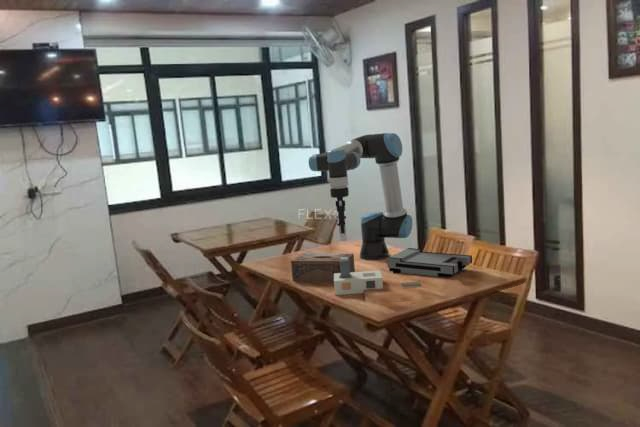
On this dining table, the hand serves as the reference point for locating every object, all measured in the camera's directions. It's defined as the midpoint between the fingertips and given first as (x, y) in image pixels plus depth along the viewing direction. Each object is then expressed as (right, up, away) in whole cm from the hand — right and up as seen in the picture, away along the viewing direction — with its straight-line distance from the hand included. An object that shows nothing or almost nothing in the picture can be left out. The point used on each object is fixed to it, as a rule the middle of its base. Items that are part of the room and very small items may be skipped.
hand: (343, 237), depth 233 cm
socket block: (+7, -22, +3) cm, 23 cm away
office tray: (+41, -17, +21) cm, 49 cm away
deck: (+29, -21, -2) cm, 36 cm away
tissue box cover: (-8, -20, +26) cm, 34 cm away
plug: (+2, -21, +3) cm, 22 cm away
